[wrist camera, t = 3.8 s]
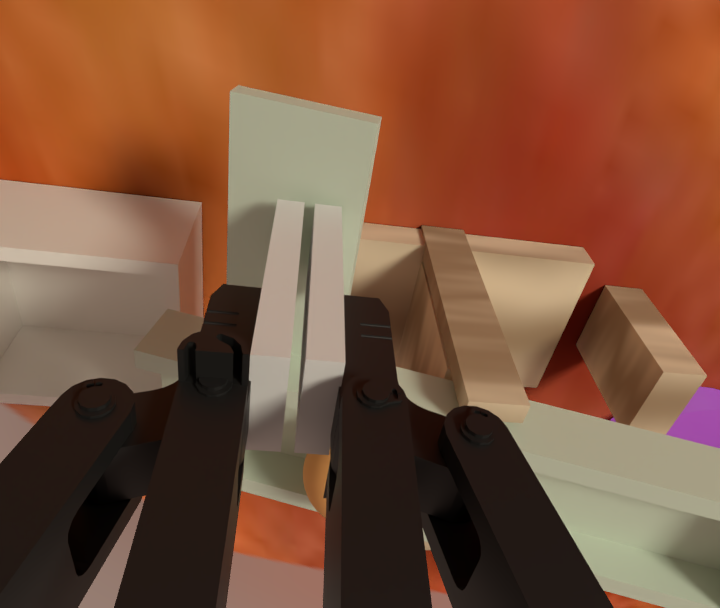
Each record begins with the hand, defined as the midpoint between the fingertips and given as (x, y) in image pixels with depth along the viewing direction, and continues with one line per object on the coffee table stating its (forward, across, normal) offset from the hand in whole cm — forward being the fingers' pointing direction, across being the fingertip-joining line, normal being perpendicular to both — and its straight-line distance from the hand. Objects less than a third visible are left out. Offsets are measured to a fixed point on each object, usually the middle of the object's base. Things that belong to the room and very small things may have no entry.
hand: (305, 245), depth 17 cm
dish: (+9, -9, -8) cm, 15 cm away
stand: (+9, +8, -8) cm, 14 cm away
